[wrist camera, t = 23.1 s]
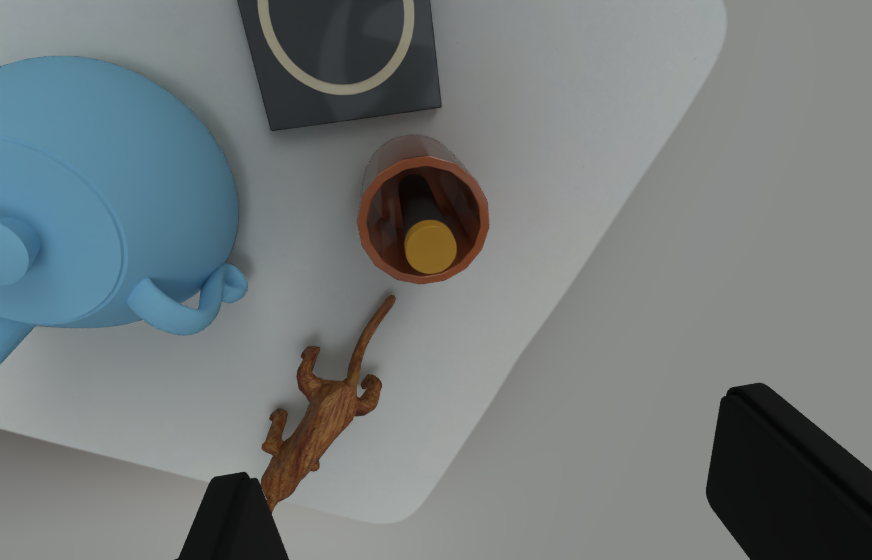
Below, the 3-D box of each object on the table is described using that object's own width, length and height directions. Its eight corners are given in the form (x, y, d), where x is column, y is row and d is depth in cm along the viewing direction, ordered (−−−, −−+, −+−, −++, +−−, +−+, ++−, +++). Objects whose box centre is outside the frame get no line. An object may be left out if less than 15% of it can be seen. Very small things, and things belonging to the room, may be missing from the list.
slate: (216, -98, 26) (209, -105, 25) (415, -121, 26) (416, -128, 25) (274, 129, 31) (270, 131, 30) (440, 106, 31) (442, 107, 30)
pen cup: (354, 142, 32) (346, 167, 24) (457, 127, 32) (483, 148, 24) (372, 239, 35) (370, 292, 27) (466, 225, 35) (493, 273, 27)
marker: (394, 175, 32) (401, 229, 21) (429, 170, 32) (454, 222, 21) (399, 208, 33) (409, 278, 22) (433, 203, 33) (459, 270, 22)
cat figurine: (357, 266, 35) (345, 373, 23) (428, 308, 38) (452, 428, 25) (243, 429, 40) (182, 590, 28) (311, 458, 42) (283, 620, 30)
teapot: (321, 193, 33) (290, 261, 21) (169, 382, 38) (77, 519, 26) (26, -36, 26) (-252, -116, 15) (-114, 230, 31) (-405, 326, 19)
